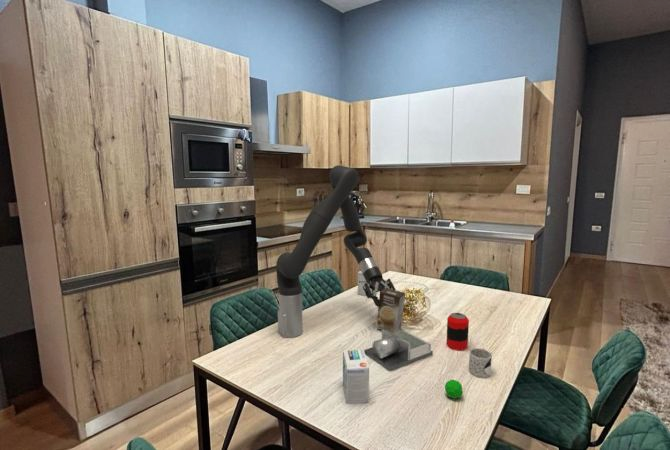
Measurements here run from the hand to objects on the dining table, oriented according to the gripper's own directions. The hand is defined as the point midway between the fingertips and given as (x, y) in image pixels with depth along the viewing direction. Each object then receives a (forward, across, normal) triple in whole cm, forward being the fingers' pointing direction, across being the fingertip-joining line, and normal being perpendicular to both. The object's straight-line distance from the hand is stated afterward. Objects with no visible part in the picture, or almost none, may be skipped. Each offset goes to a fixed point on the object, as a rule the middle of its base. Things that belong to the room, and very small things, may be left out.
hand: (386, 303), depth 147 cm
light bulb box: (+28, -36, -12) cm, 47 cm away
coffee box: (+8, 0, +7) cm, 11 cm away
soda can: (+26, +13, -10) cm, 31 cm away
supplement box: (-20, +20, +37) cm, 47 cm away
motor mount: (+21, -10, -5) cm, 24 cm away
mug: (+37, +6, -21) cm, 43 cm away
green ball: (+40, -13, -24) cm, 49 cm away
